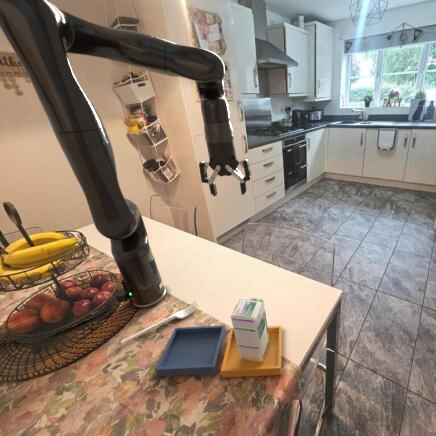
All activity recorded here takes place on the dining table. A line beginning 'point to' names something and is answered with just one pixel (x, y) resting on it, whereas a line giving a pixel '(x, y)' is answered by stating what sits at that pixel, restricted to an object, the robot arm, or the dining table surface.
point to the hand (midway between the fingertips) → (229, 194)
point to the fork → (180, 315)
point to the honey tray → (241, 367)
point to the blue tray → (192, 351)
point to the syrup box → (251, 329)
